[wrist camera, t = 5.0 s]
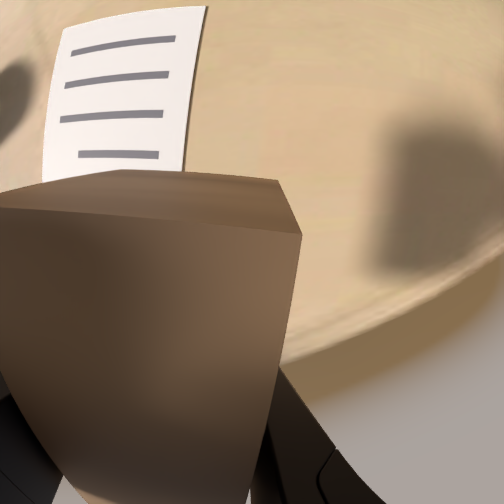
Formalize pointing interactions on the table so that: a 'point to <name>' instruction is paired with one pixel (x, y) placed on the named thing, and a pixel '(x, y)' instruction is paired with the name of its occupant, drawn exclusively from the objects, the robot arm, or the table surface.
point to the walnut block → (147, 327)
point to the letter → (122, 93)
